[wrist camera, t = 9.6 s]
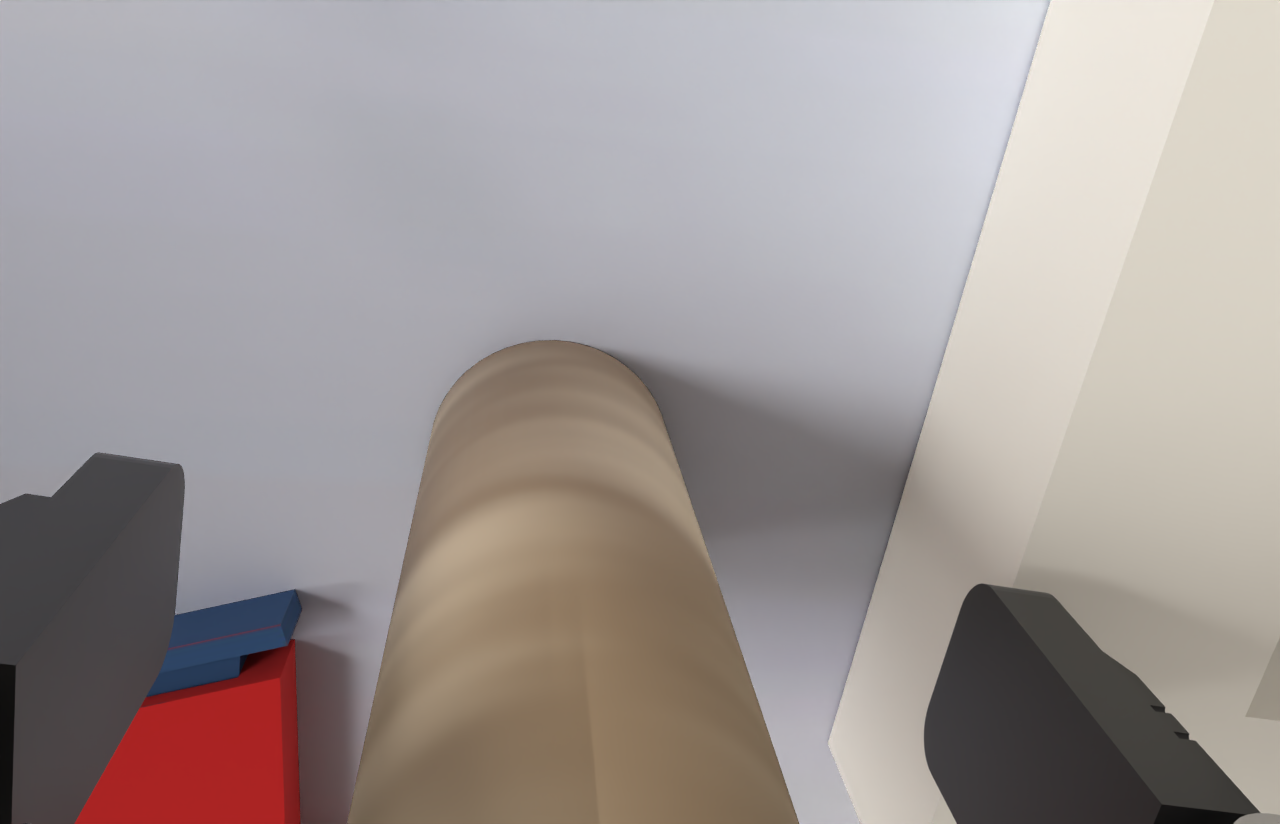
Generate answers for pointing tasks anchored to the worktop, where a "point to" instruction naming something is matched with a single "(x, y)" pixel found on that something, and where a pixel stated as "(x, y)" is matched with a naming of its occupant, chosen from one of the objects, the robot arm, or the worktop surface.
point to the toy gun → (213, 725)
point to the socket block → (1106, 397)
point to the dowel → (561, 621)
